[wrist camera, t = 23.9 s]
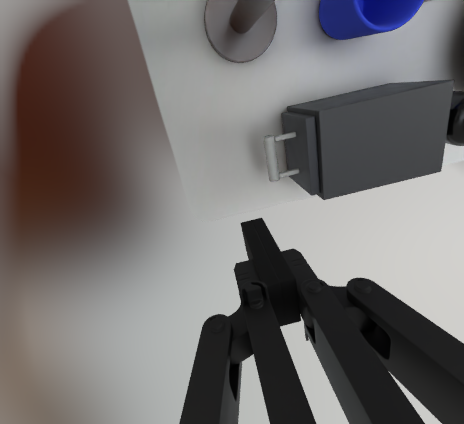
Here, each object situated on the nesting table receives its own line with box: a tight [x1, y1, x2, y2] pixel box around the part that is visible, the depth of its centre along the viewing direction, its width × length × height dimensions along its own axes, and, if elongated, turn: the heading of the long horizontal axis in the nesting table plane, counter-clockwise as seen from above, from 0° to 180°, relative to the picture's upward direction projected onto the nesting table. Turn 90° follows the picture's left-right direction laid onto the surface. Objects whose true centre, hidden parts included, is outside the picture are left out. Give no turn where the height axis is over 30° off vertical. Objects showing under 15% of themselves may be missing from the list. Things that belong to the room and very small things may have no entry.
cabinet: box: [287, 80, 454, 200], centre depth 36 cm, size 16×11×11 cm
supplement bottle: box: [445, 91, 464, 146], centre depth 36 cm, size 7×7×12 cm
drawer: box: [263, 112, 320, 195], centre depth 36 cm, size 19×10×9 cm, turn 102°
